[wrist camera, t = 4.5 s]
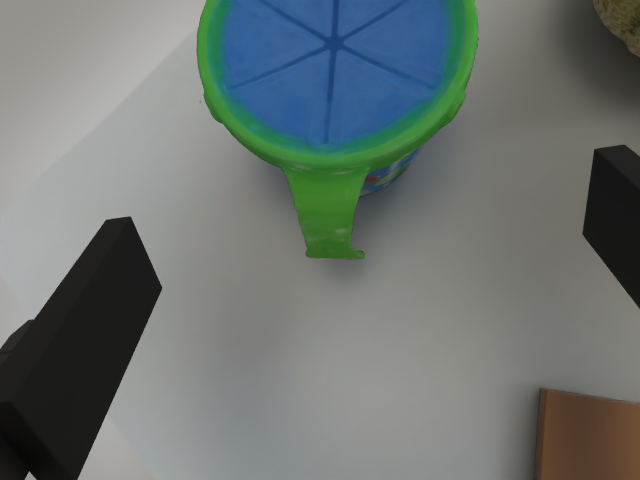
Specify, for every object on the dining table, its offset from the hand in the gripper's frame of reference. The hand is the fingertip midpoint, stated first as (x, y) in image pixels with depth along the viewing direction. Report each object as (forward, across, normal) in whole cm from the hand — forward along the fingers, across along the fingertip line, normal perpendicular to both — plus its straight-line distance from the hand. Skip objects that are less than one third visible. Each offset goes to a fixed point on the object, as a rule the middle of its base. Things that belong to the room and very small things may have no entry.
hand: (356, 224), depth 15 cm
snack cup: (+14, 0, -3) cm, 15 cm away
